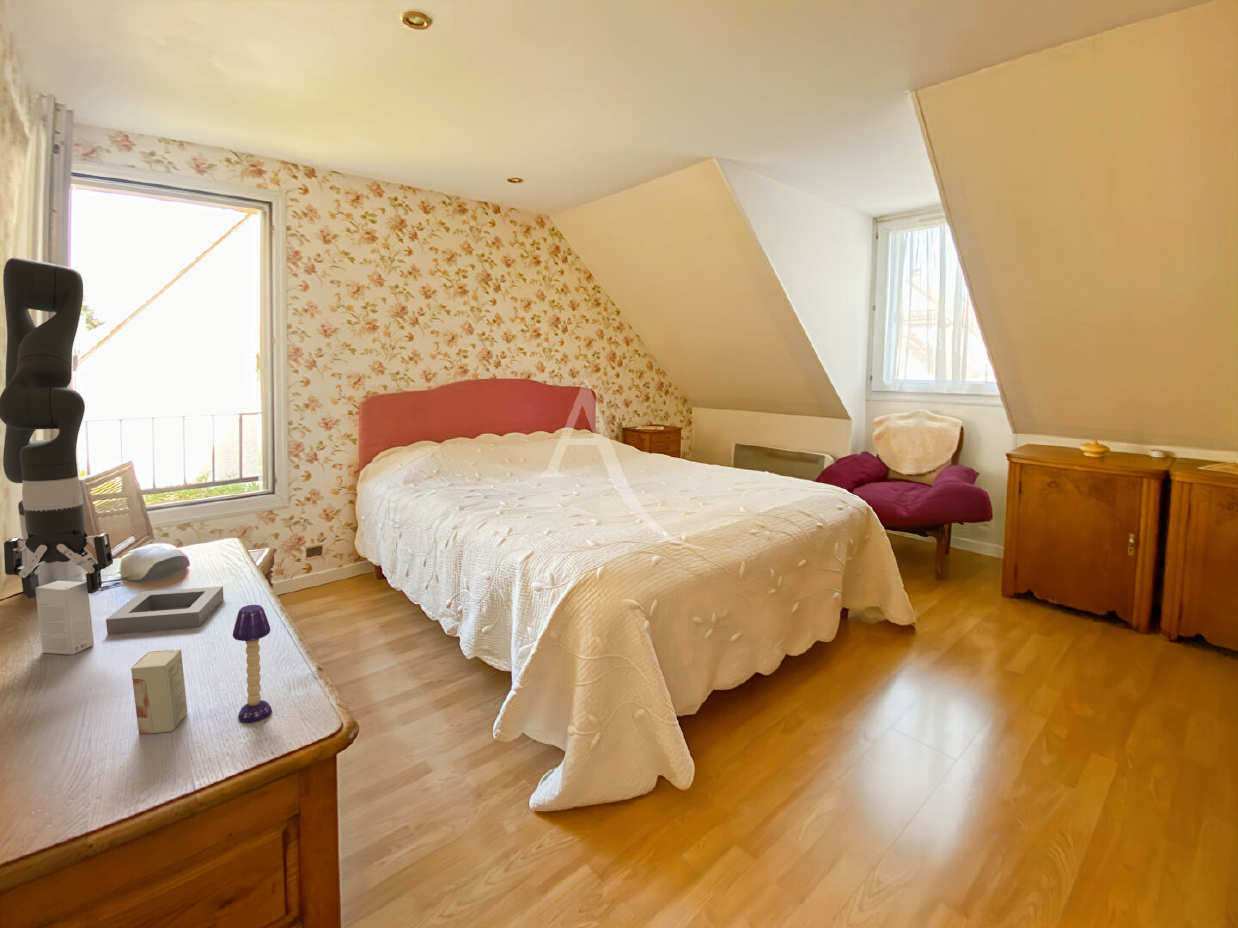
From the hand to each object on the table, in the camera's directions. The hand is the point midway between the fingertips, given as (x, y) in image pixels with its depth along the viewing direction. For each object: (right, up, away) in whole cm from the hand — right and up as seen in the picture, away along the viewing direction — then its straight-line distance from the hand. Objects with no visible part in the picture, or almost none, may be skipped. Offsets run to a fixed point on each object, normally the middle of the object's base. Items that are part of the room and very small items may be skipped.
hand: (63, 594), depth 107 cm
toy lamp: (+44, -14, -17) cm, 50 cm away
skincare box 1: (-1, -10, +2) cm, 10 cm away
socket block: (+6, -8, +17) cm, 20 cm away
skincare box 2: (+33, -14, -20) cm, 41 cm away
